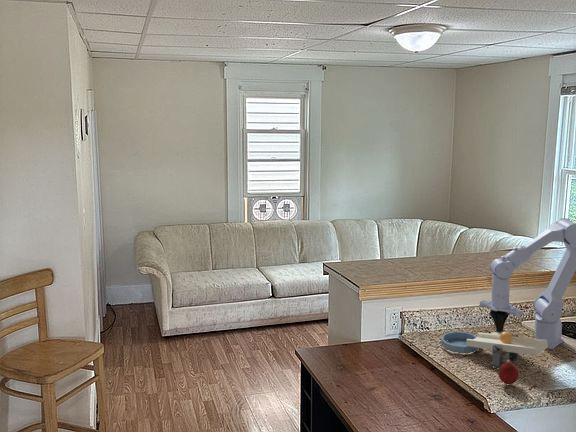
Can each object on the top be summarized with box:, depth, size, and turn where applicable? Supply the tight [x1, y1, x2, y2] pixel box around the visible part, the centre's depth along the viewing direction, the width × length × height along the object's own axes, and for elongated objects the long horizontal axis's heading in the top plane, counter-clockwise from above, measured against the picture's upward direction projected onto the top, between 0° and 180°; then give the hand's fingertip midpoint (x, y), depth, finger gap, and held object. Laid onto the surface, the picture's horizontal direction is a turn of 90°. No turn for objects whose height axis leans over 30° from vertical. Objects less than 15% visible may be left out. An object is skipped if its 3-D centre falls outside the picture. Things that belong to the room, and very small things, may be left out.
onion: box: [497, 360, 520, 385], centre depth 172 cm, size 6×6×8 cm
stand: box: [489, 334, 522, 368], centre depth 186 cm, size 14×4×7 cm, turn 131°
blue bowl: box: [440, 330, 479, 353], centre depth 200 cm, size 12×12×3 cm
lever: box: [466, 328, 548, 356], centre depth 189 cm, size 17×24×3 cm
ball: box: [499, 331, 513, 344], centre depth 185 cm, size 4×4×4 cm
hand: (499, 330), depth 199 cm, fingers closed, pressing on lever
